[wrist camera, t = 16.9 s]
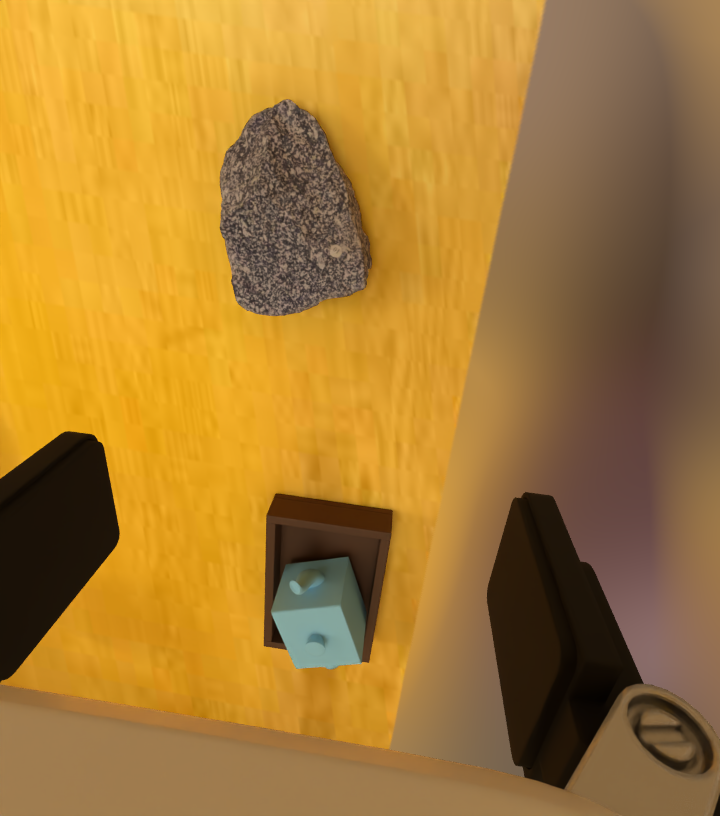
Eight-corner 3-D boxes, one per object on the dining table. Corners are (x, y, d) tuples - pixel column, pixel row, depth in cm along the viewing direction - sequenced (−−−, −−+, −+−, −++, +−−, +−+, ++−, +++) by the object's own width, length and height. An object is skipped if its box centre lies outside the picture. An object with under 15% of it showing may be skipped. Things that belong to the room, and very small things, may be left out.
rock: (390, 279, 29) (246, 343, 31) (386, 272, 34) (262, 327, 36) (306, 68, 25) (146, 152, 27) (315, 95, 30) (180, 164, 32)
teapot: (277, 529, 44) (252, 593, 37) (340, 520, 43) (326, 585, 36) (313, 620, 49) (298, 691, 42) (371, 614, 48) (364, 687, 41)
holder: (275, 493, 43) (266, 515, 40) (392, 510, 43) (391, 533, 40) (271, 620, 50) (263, 646, 48) (371, 635, 50) (369, 663, 47)
